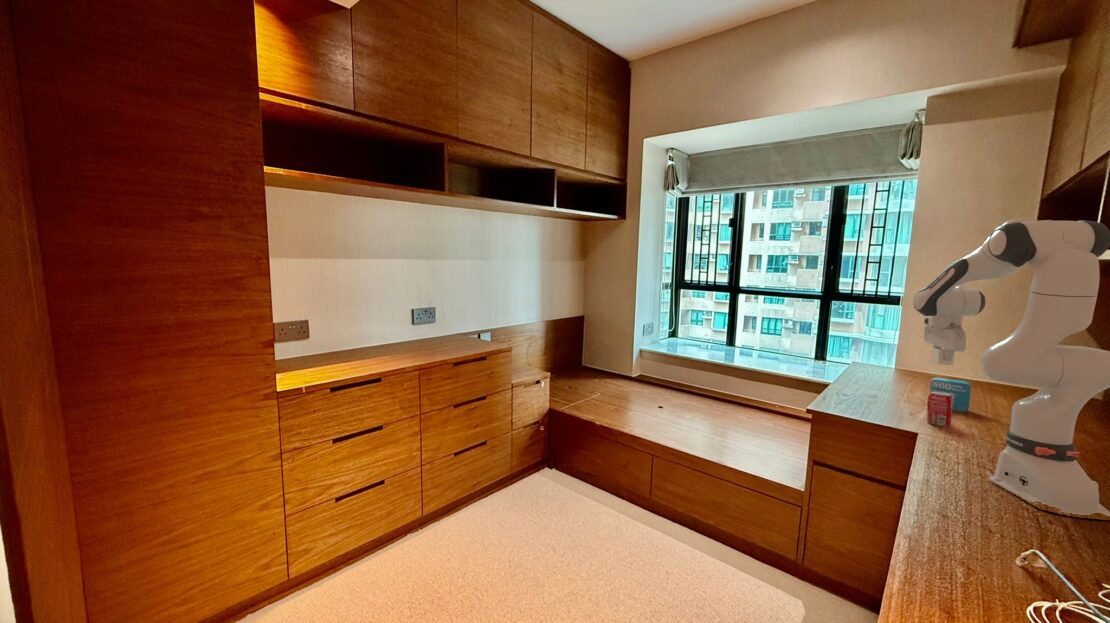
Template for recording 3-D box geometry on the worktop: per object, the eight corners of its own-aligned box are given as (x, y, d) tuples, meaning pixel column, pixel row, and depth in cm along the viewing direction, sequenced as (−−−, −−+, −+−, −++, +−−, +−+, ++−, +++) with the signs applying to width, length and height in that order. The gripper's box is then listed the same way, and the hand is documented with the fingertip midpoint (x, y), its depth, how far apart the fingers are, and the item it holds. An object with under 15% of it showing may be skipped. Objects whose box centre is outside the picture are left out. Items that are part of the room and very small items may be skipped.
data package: (928, 406, 179) (930, 378, 178) (929, 403, 182) (932, 376, 181) (967, 413, 170) (970, 384, 169) (968, 410, 173) (971, 382, 172)
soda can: (940, 420, 163) (943, 390, 161) (956, 427, 156) (959, 396, 154) (920, 420, 163) (923, 390, 162) (935, 427, 156) (938, 395, 155)
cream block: (953, 365, 154) (954, 351, 154) (937, 364, 156) (939, 350, 155) (946, 362, 159) (947, 349, 158) (931, 361, 160) (932, 348, 159)
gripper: (974, 326, 145) (970, 365, 146) (941, 319, 164) (938, 354, 165) (951, 325, 147) (947, 364, 148) (921, 318, 166) (918, 353, 167)
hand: (942, 358), depth 157 cm, fingers closed on cream block, 5 cm apart
